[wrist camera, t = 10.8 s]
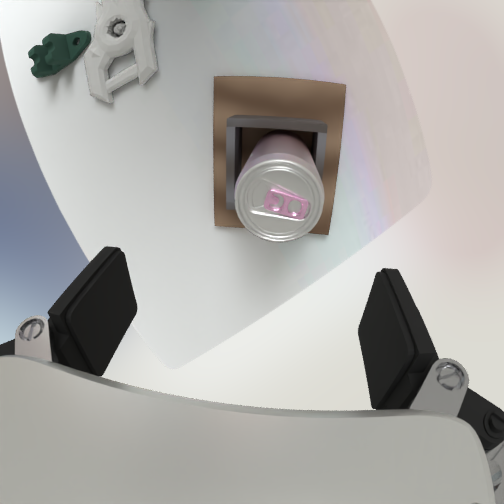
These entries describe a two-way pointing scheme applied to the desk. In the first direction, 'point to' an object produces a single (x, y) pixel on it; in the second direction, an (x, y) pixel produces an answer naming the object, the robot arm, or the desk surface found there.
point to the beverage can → (279, 189)
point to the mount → (57, 52)
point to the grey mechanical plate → (119, 46)
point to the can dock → (269, 119)
